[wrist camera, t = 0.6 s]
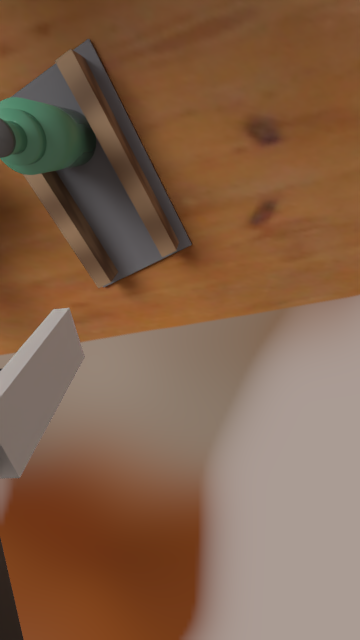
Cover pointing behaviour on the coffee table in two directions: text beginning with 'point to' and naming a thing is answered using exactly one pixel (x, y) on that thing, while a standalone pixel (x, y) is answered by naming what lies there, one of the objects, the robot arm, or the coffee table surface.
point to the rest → (125, 167)
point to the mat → (108, 176)
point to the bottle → (43, 137)
